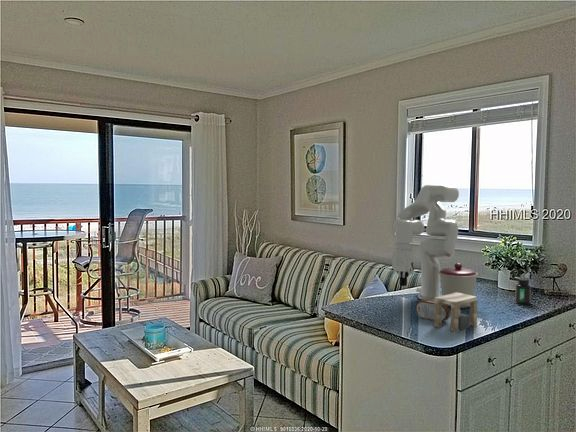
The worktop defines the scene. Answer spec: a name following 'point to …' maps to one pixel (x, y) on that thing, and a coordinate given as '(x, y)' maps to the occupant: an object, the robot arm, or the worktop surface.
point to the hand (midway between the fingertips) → (403, 285)
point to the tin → (431, 310)
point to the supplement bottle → (523, 292)
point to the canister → (458, 281)
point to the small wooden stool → (456, 310)
